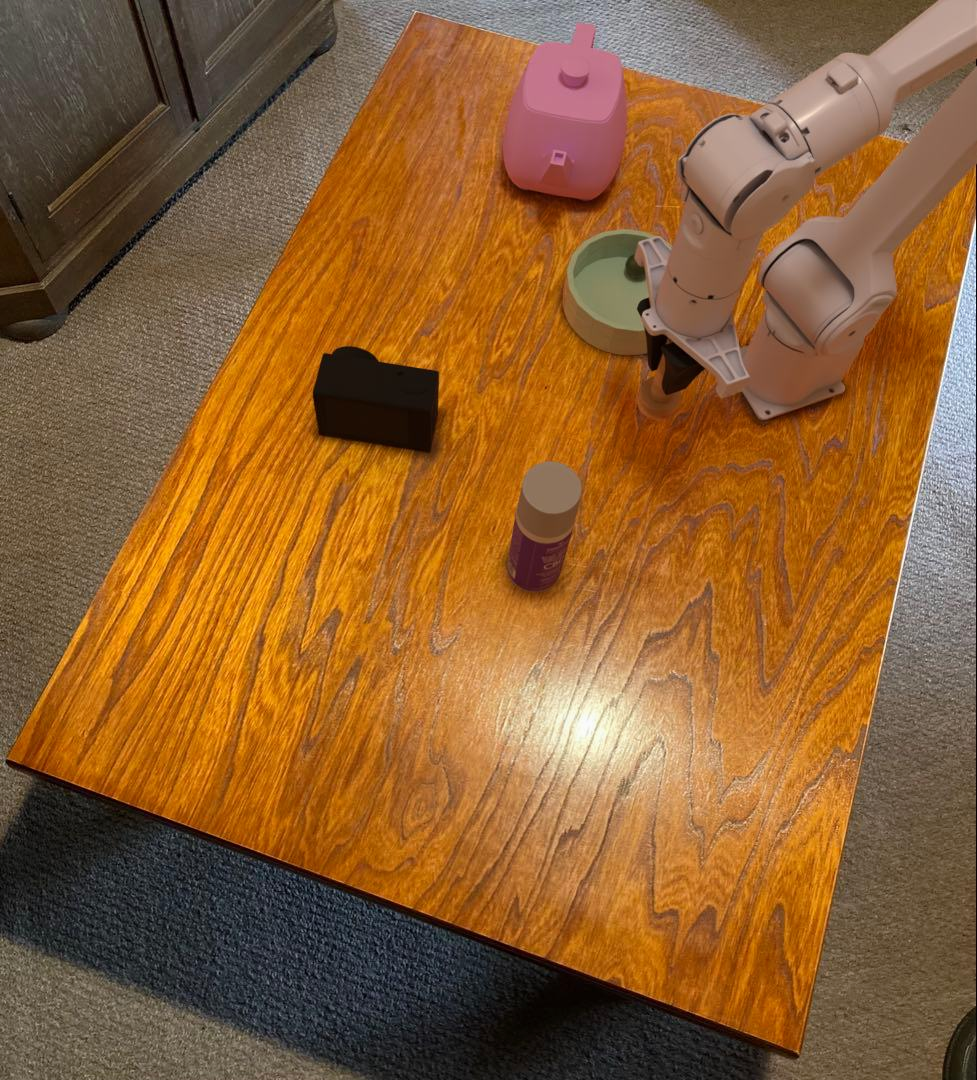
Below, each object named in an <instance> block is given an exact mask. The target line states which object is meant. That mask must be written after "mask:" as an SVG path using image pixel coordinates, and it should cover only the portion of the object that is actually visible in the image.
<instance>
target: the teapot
mask: <svg viewBox="0 0 977 1080" xmlns="http://www.w3.org/2000/svg"><path fill="white" fill-rule="evenodd" d="M596 29H597V25H595V24H590V23H585V22H580V21H577V22H576V25H575V29H574V33H573V37H572V41H571V43H565V42H557V41H544V42H542V43H540V44H539V45H538V46H536V48H535V50H534V51H533V53H532V55H531V57H530V58H529V60H528V62H527V64H526V66H525V68H524V71H523V73H522V75H521V77H520V79H519V81H518V83H517V85H516V87H515V90H514V92H513V95H512V97H511V100H510V103H509V107H508V110H507V115H506V119H505V123H504V129H503V138H502V152H503V153H502V155H503V162H504V168H505V170H506V173H507V176H508V177H509V179H510V180H511V182H512V183H513V184H514V185H516V187H518V188H519V189H521V190H523V191H534V192H539V193H543V194H548V195H552V196H558V197H559V196H560V197H565V198H573V199H578V200H580V201H583V202H584V201H585V202H586V201H587V202H588V201H592V200H593V199H595V198H597V197H599V196H600V195H602V193H603V192H604V191H606V189H608V187H609V186H610V184H611V183H612V180H614V177H615V175H616V173H617V171H618V169H619V166H620V164H621V161H622V159H623V156H624V155H623V154H624V151H625V145H626V141H627V132H628V131H627V129H628V104H627V102H628V101H627V90H626V83H625V75H624V70H623V65H622V64H623V63H622V61H621V59H620V58H619V56H618V55H617V54H616V53H613V52H610V51H607V50H602V49H599V48H594V43H595V37H596Z"/></svg>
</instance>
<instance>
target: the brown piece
mask: <svg viewBox="0 0 977 1080" xmlns="http://www.w3.org/2000/svg"><path fill="white" fill-rule="evenodd" d="M672 342H673V341H672V340H671V339H670V338H668V339H667V342H666V344H669V343H672ZM664 372H665V358H664V354H663V353H662V356H661V359H660V362H659V365H658V368H657V370H655V374H654V376H651V377H648V378H646V379H645V381H643V383H642V384H641V386H640V389H639V391H638V393H637V394H638V395H637V398H636V403H637V407H638V409H639V411H640V412H641V414H643V415H644V416H645V417H647V418H649V419H651V420H654V421H666V420H668V419H670V418H672V417H673V416H674V415H675V414H676V413H677V411H678V409H679V406H680V405H681V402H682V397H683V396H682V390H681V391H678V392H675V393H672V394H669V395H665V393H664V391H663V390H662V380H663V376H664Z"/></svg>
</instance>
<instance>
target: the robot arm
mask: <svg viewBox="0 0 977 1080" xmlns="http://www.w3.org/2000/svg"><path fill="white" fill-rule="evenodd" d="M975 60H977V0H937V1H936V2H934V3H933V4H931V5H930V6H929V7H928V8H927V9H925V10H924V11H923V12H922V13H921V14H919V15H918V16H917V17H915V18H914V19H913V20H911V21H910V22H909V23H908V24H906V25H905V26H904V27H903V28H902V29H901V30H899V31H898V32H896V34H894V35H893V36H892V37H890V38H889V39H887V41H885V42H884V43H883V44H881V45H880V46H879V47H878V48H877V49H875V50H874V51H872V52H871V53H870V54H869V55H865V54H860V53H855V52H842V53H840V54H839V55H837V56H835V57H834V58H833V59H831V60H830V61H827V62H826V63H825V64H823V65H822V66H820V67H818V68H817V69H816V70H815V71H813V72H812V73H810V74H809V75H807V76H805V77H804V78H803V79H801V80H800V81H798V82H796V83H795V84H793V85H792V86H791V87H790V88H787V89H786V90H785V91H783V92H782V93H781V94H779V95H778V96H775V97H774V98H773V99H772V100H770V101H768V102H767V103H765V104H764V105H763V106H760V107H759V108H758V109H756V110H754V111H753V112H751V114H750V115H749V114H738V113H735V112H734V113H731V112H730V113H725V114H723V115H720V116H718V117H716V118H714V119H713V120H711V121H709V122H708V123H707V124H705V125H704V126H703V127H702V128H701V129H700V130H699V131H698V132H697V133H696V134H695V135H694V137H693V138H692V139H691V141H690V142H689V144H688V145H687V148H686V149H685V152H684V153H683V154H682V155H681V156H679V158H678V159H677V161H676V174H677V177H678V179H679V180H680V181H681V183H682V185H683V186H682V191H681V193H680V195H679V196H680V197H679V198H680V199H681V201H682V202H683V205H684V207H683V210H682V214H681V217H680V220H679V222H678V227H677V230H676V233H675V236H674V239H673V243H672V249H671V248H670V247H669V246H668V245H667V244H666V243H665V241H666V240H665V239H664V238H663V236H661V235H655V236H656V237H653V238H649V239H646V240H643V241H639V242H638V246H637V249H636V253H635V257H634V259H635V260H636V262H637V263H638V265H639V266H641V267H643V266H644V268H645V275H646V281H647V287H648V294H649V297H648V298H645V299H643V300H641V301H640V302H639V304H638V307H637V311H638V313H639V315H640V317H641V321H642V323H643V325H644V329H645V334H646V341H647V353H646V354H647V366H648V368H649V370H650V371H651V372H656V371H657V368H658V365H659V362H660V359H661V356H662V353H663V354H664V358H665V372H664V376H663V380H662V390H663V391H664V393H665V395H669V394H672V393H675V392H678V391H681V392H682V391H684V390H687V388H688V387H689V386H690V384H691V383H692V382H693V381H694V380H695V379H696V378H698V376H699V375H700V374H701V373H703V372H704V371H705V370H706V371H708V372H709V373H710V374H711V375H712V376H713V377H714V378H715V379H716V380H717V383H716V386H715V388H714V390H715V392H716V394H717V395H718V396H719V399H724V398H727V397H731V396H733V395H737V394H738V393H739V394H740V393H742V394H743V396H744V398H745V399H746V400H747V402H748V404H749V405H750V407H751V408H752V411H753V412H754V415H756V417H757V419H758V420H760V421H768V420H769V419H772V418H775V417H779V416H781V415H784V414H787V413H790V412H793V411H796V410H798V409H801V408H804V407H806V406H809V405H813V404H816V403H818V402H821V401H824V400H827V399H830V398H834V397H835V396H839V395H841V394H844V392H845V390H846V386H845V385H844V383H843V382H842V381H843V379H844V378H845V376H846V374H847V372H848V371H849V370H850V368H851V366H852V365H853V363H854V361H855V360H856V358H857V357H858V355H859V353H860V351H861V350H862V348H863V346H864V342H865V339H866V337H867V336H868V335H869V334H870V333H871V331H872V330H873V329H874V328H875V326H876V325H877V324H878V322H879V320H880V318H881V316H882V315H883V313H884V312H885V311H886V310H887V308H888V307H889V306H890V305H891V304H893V303H892V302H893V300H894V299H895V298H896V297H897V296H898V283H897V279H896V272H895V271H896V270H895V263H894V252H895V251H896V250H897V249H898V248H899V247H900V246H901V245H902V244H903V243H904V242H905V240H906V239H907V238H908V237H910V235H911V234H912V233H913V232H914V231H915V230H916V229H917V228H918V227H919V226H920V225H921V224H922V222H923V221H924V220H925V219H927V217H928V216H929V215H930V214H932V212H933V211H934V210H935V208H936V207H937V206H938V205H940V203H941V202H942V201H943V200H944V199H945V198H946V197H947V196H948V195H949V194H950V193H951V192H952V191H953V190H954V189H955V188H956V187H957V185H958V184H959V183H960V182H961V181H962V180H963V179H964V178H965V177H966V176H967V175H968V174H969V172H970V171H971V170H972V169H973V168H974V167H975V166H976V165H977V65H976V66H975V67H974V68H973V70H971V72H970V73H969V74H968V75H967V76H966V78H965V79H964V80H963V81H962V82H961V83H960V84H959V85H958V86H957V87H956V89H955V90H954V91H953V92H952V93H951V95H950V96H949V97H948V98H947V99H946V100H945V101H944V103H942V104H941V106H940V107H939V108H938V110H936V111H935V112H934V114H933V115H932V116H931V117H930V119H929V120H928V121H927V122H926V123H925V124H924V125H923V127H922V128H920V130H919V131H918V132H917V134H915V136H914V137H913V138H912V139H911V140H910V141H909V142H908V144H907V145H906V146H905V147H904V148H903V149H902V150H901V151H900V153H898V155H897V156H896V157H895V158H894V159H893V160H892V162H891V163H890V164H889V165H888V167H886V169H884V171H883V172H882V173H881V175H879V177H877V179H875V181H874V182H873V183H872V185H871V186H870V187H869V188H868V189H867V190H866V191H865V193H864V194H863V195H862V196H861V197H860V198H859V199H858V200H857V202H855V204H854V205H853V206H852V207H851V208H850V209H849V211H848V212H847V213H846V214H845V215H844V216H834V215H833V216H832V215H820V216H813V217H811V218H808V219H805V221H804V222H802V224H801V225H799V227H798V228H797V229H796V230H795V231H794V232H792V233H791V234H790V235H789V236H788V237H786V238H785V239H784V240H782V241H781V242H779V243H778V244H777V245H776V246H775V247H774V248H773V249H772V250H771V251H770V252H769V253H768V254H767V255H766V256H765V258H764V260H763V261H762V263H761V265H760V268H759V272H758V273H757V274H758V275H757V282H758V284H759V285H760V287H762V288H763V289H764V290H765V291H764V293H763V295H762V298H761V300H762V302H763V304H764V311H763V313H762V315H761V317H760V320H759V321H758V324H757V325H756V328H755V331H754V332H753V335H752V337H751V340H750V341H749V344H748V345H744V346H742V347H740V344H739V338H738V333H737V328H736V323H735V318H734V311H733V309H734V307H735V304H736V301H737V299H738V297H739V294H740V292H741V291H742V288H743V285H744V283H745V280H746V278H747V275H748V273H749V270H750V268H751V266H752V263H753V260H754V259H755V255H756V254H757V251H758V248H759V247H760V244H761V242H762V239H763V237H764V235H765V233H766V232H767V231H769V230H770V229H772V228H774V227H775V226H776V225H778V224H779V223H780V222H781V221H782V220H783V219H785V218H786V216H788V214H789V213H790V212H791V211H792V210H793V209H794V208H795V206H796V205H797V204H798V202H799V201H801V200H802V199H803V198H805V196H807V195H808V194H809V192H810V191H811V190H813V189H814V188H815V179H816V178H818V177H820V176H821V175H822V174H824V173H825V172H827V171H828V170H830V169H831V168H833V167H834V166H836V165H837V164H839V163H840V162H842V161H843V160H845V159H846V158H848V157H849V156H851V155H852V154H854V153H856V152H857V151H858V150H860V149H861V148H863V147H864V146H866V145H867V144H869V143H870V142H871V141H873V140H875V139H876V138H878V137H879V136H881V135H882V134H884V133H886V131H887V130H888V128H889V126H890V124H891V122H892V121H891V120H892V117H893V112H894V109H895V106H896V105H897V104H898V103H900V102H901V101H904V100H905V99H907V98H909V97H912V96H913V95H915V94H916V93H918V92H919V91H922V90H924V89H925V88H927V87H929V86H930V85H932V84H935V83H936V82H937V81H940V80H941V79H943V78H945V77H946V76H948V75H951V74H952V73H954V72H956V71H957V70H959V69H961V68H963V67H964V66H967V65H969V64H970V63H972V62H974V61H975ZM663 239H664V240H665V241H664V240H663ZM668 338H670V339H671V340H672V341H673V342H672V343H669V344H666V342H667V339H668Z"/></svg>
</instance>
